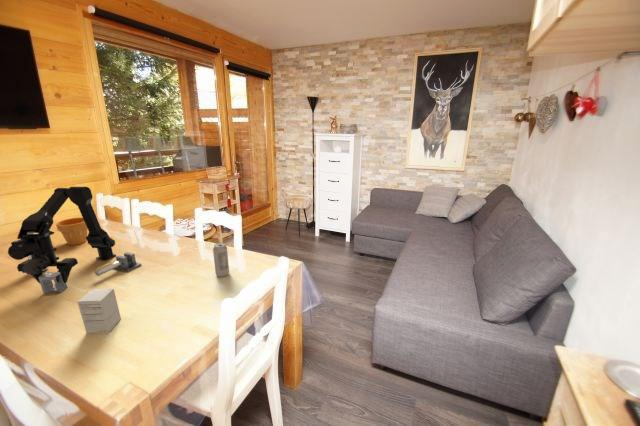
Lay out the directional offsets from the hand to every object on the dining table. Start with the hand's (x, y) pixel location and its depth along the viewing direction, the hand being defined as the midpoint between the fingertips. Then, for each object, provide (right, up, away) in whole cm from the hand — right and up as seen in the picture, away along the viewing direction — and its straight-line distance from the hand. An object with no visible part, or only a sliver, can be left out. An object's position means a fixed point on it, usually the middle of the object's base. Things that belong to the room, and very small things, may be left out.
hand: (53, 283), depth 117 cm
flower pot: (-33, +12, +50) cm, 61 cm away
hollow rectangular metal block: (0, -3, +1) cm, 4 cm away
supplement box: (+36, -10, -19) cm, 42 cm away
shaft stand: (+14, +1, +16) cm, 22 cm away
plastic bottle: (-22, +1, +17) cm, 27 cm away
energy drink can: (+65, 0, +15) cm, 67 cm away
